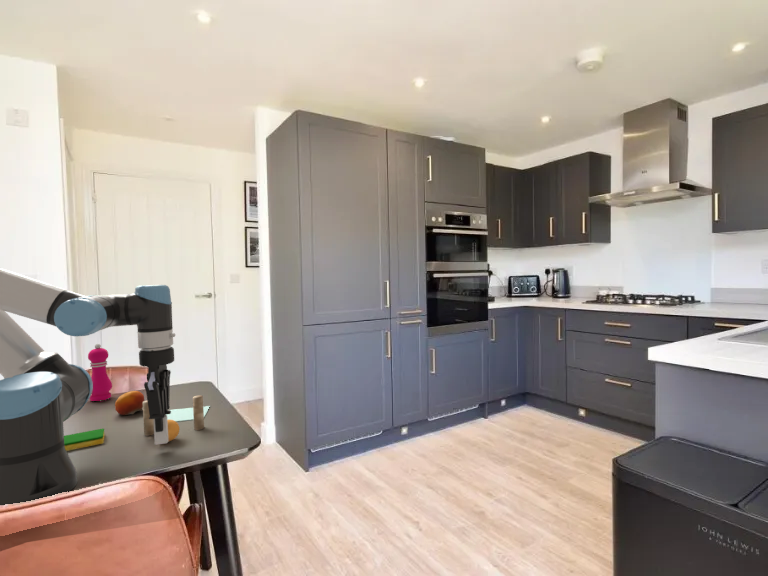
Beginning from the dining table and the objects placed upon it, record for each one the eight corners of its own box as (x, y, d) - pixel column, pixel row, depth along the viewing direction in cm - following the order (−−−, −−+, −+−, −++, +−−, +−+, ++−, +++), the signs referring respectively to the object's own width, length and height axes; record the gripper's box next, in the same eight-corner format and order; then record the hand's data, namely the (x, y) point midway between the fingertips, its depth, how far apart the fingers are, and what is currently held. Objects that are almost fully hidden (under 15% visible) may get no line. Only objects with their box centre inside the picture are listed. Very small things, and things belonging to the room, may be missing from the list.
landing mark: (159, 423, 120) (159, 422, 120) (170, 410, 132) (170, 409, 132) (203, 418, 123) (203, 418, 123) (210, 406, 135) (210, 405, 135)
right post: (193, 430, 114) (191, 398, 114) (195, 427, 116) (193, 395, 116) (203, 429, 115) (201, 397, 114) (205, 426, 117) (203, 395, 117)
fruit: (136, 413, 126) (123, 390, 126) (118, 425, 127) (105, 403, 128) (155, 404, 134) (143, 383, 134) (138, 416, 135) (126, 395, 136)
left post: (142, 436, 111) (141, 403, 111) (146, 432, 113) (144, 400, 113) (153, 435, 112) (151, 402, 111) (156, 431, 114) (154, 399, 114)
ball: (155, 417, 108) (161, 434, 110) (151, 431, 103) (156, 448, 105) (178, 413, 109) (183, 429, 111) (174, 426, 104) (179, 443, 106)
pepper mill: (116, 398, 148) (113, 342, 147) (94, 403, 142) (90, 346, 141) (107, 395, 152) (104, 341, 151) (84, 400, 145) (81, 344, 145)
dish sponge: (39, 449, 106) (39, 440, 106) (104, 436, 113) (104, 427, 113) (34, 459, 100) (34, 449, 100) (103, 445, 107) (103, 436, 107)
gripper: (165, 351, 95) (171, 451, 96) (179, 342, 107) (184, 431, 108) (129, 354, 93) (135, 456, 94) (148, 344, 106) (153, 434, 107)
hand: (161, 442), depth 101 cm, fingers closed
